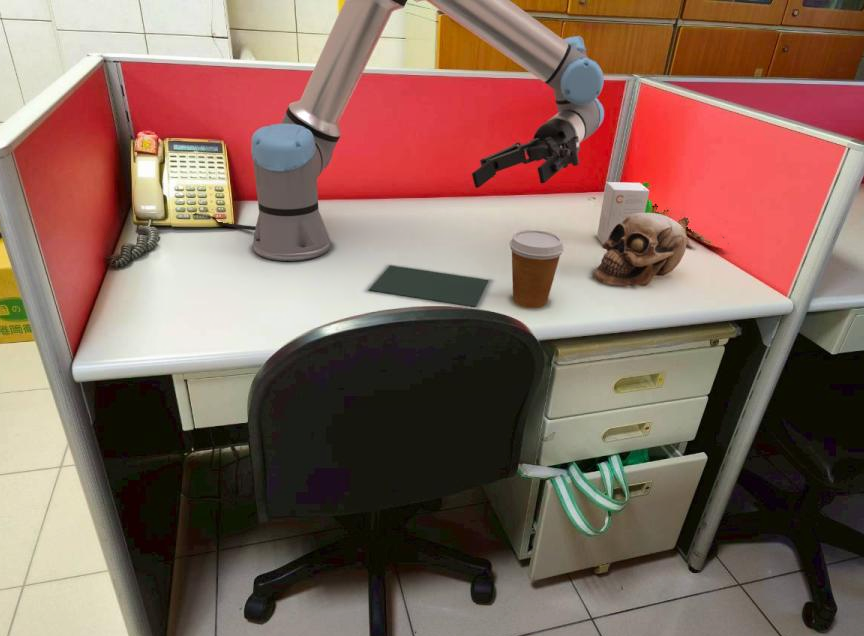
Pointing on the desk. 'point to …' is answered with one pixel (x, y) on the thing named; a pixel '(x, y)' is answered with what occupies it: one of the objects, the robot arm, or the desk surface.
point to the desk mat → (430, 285)
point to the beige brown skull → (641, 250)
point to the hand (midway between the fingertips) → (506, 178)
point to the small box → (620, 205)
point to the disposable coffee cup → (534, 266)
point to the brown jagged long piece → (692, 233)
